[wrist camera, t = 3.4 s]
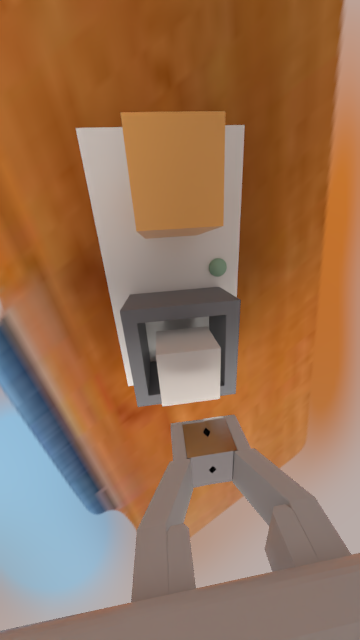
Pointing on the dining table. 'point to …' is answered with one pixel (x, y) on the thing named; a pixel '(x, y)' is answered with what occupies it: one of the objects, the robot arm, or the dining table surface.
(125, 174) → the breaker panel
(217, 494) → the dining table surface
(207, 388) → the button
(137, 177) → the orange rectangular block
